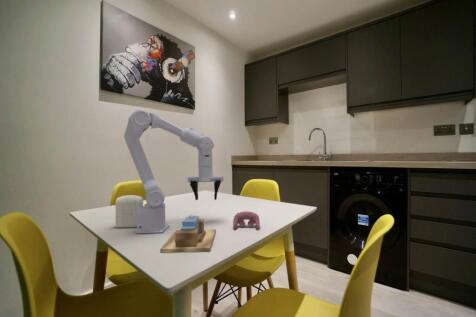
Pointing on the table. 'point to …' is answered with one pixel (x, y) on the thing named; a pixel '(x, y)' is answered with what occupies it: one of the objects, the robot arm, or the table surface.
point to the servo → (191, 223)
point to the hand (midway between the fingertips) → (206, 199)
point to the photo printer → (127, 210)
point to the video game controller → (243, 216)
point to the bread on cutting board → (190, 240)
